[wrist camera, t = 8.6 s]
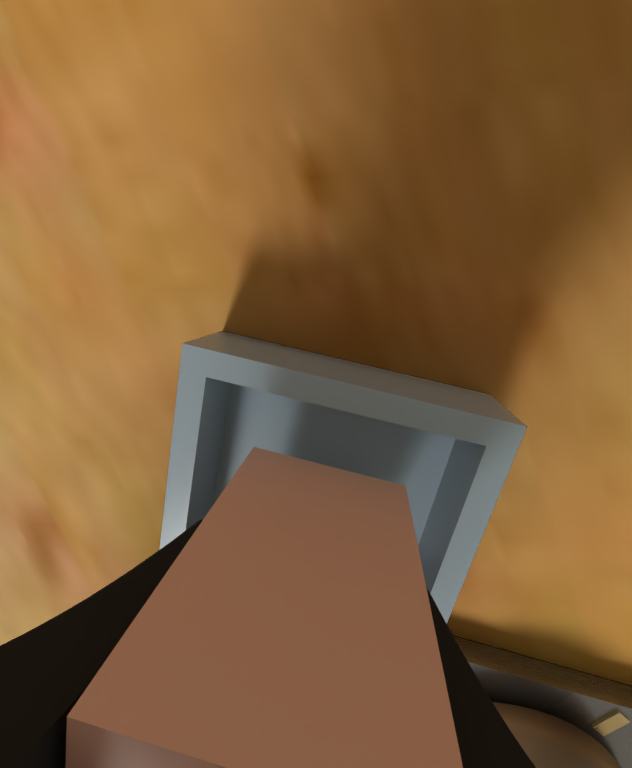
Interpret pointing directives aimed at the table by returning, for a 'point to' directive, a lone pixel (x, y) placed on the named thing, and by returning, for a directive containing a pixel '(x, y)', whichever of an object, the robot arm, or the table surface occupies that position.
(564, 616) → the table surface
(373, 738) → the block
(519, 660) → the crank base
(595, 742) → the crank
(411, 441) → the tray
